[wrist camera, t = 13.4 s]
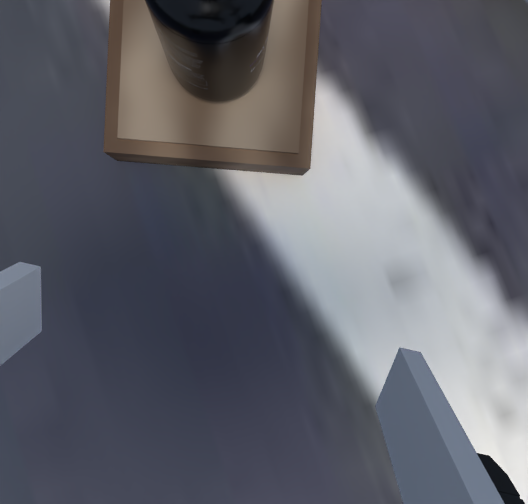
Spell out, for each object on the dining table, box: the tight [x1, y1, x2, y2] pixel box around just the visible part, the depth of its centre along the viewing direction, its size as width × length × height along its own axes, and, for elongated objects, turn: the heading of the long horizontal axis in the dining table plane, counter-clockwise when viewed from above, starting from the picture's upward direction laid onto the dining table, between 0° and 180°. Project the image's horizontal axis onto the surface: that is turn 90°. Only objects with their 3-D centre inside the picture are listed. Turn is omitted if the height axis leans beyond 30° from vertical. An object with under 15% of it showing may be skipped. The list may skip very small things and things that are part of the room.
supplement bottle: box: [145, 0, 274, 102], centre depth 19 cm, size 7×7×12 cm
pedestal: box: [104, 0, 322, 175], centre depth 27 cm, size 15×15×3 cm
